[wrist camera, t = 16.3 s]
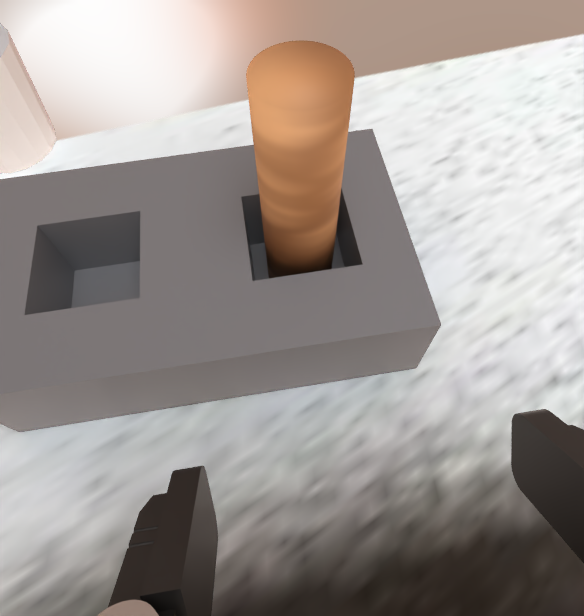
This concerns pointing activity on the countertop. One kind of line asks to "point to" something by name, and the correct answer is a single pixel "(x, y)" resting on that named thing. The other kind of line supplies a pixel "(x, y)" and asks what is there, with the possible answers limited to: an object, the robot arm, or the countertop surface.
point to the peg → (300, 150)
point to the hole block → (193, 289)
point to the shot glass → (20, 113)
